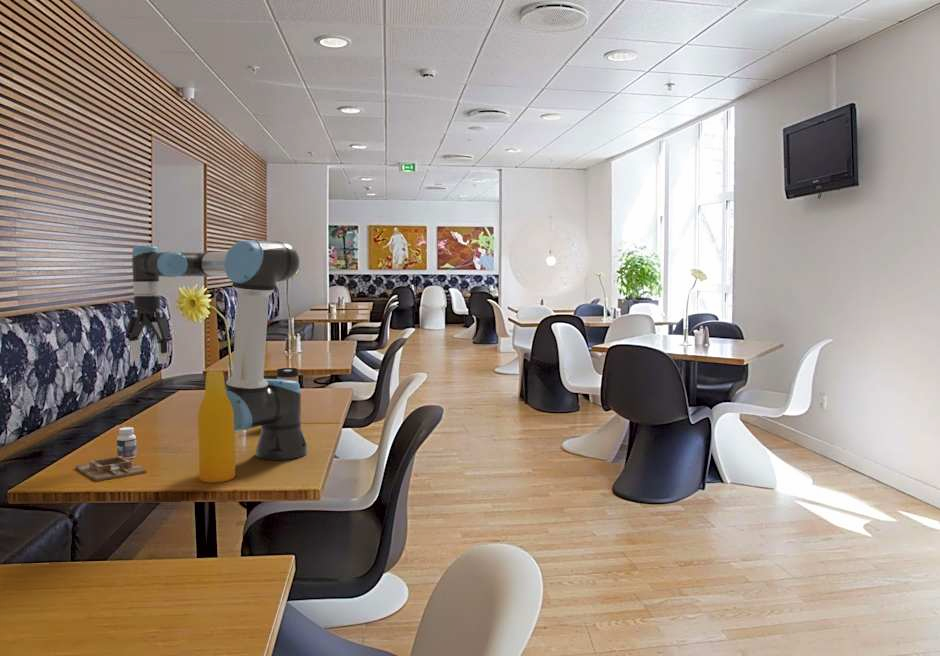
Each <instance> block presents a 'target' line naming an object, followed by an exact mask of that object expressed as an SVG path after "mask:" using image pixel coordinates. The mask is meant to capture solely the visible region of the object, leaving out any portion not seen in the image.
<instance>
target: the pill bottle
mask: <svg viewBox="0 0 940 656" xmlns="http://www.w3.org/2000/svg"><path fill="white" fill-rule="evenodd" d="M134 431H135V430H134V427H131V426H128V427H127V426H125V427H121V428H118V434H119V435H118V436H117V437H116V449H117V450H116V451H117V452H116V453H117V454H116V457H118V456H122V457H124V458H126V459H128V460H131V458H132V459H135V458H136V457H137V437H136V434H134Z"/></svg>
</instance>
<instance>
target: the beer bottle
mask: <svg viewBox="0 0 940 656" xmlns="http://www.w3.org/2000/svg"><path fill="white" fill-rule="evenodd" d="M197 411H198V413H197V421H198V423H197V425H198V428H197V429H198V430H197V431H198V460H199V461H198V465H199V466H198V467H199V469H198V475H199V479H200V481H201V482H204V483H211V484H212V483H213V484H215V483H216V484H217V483H223V482H228V481H231V480H233V479H234V478H235V475H236V461H235V460H236V459H235V457H236V456H235V431H234V412H233V407H232V405H231V402H230V401H229V399H228V397H227V394H226V383H225V375H224V371H222V370H221V371H220V370H217V371H216V370H214V371H213V370H212V371H206V376H205V390H204V396H203V398H202V400H201V402H200V405H199V408H198V410H197Z"/></svg>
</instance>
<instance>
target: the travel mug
mask: <svg viewBox="0 0 940 656" xmlns="http://www.w3.org/2000/svg"><path fill="white" fill-rule="evenodd" d="M276 379H282V380H293V381H297V382H298V383H299V369H298V368H297V367H282V368H277V369H276Z"/></svg>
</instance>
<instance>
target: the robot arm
mask: <svg viewBox="0 0 940 656" xmlns="http://www.w3.org/2000/svg"><path fill="white" fill-rule="evenodd" d="M131 261H132V279H133V282H132V284H133V285H132V287H133V288H132V289H133V290H132V291H133V292H132V293H133V295H135V296H134V297H133V307H134V308H135V309H131V310H130V316H129V321H128V324H127V327H126V331H125V335H124V337H125V339H128V340H129V348H130V362H136V361H138V362H139V361H141V349H140V348H141V346H140V344H141V343H140V338H139V337H140V335H141V334H142V332H143V330H144V328H145V326H149V327H150V328H151V329H152V331H153V334H154V335H155V337H156V338H157V364H158V365H162V364H167V363H168V343H169V342H171V341H172V340H173V337H172V334H171V331H170V328H169V326H168V323H167V320H166V315H165V311H164V310H158V309H159V308H160V307H161V301H160V296H159V294H160V277H167V278H176V277H216V276H217V277H220V276H221V277H223V276H227V278H228V279H229V281H231V282H232V288H233V290H234V291H236V293H237V295H236V296H237V297H236V299H237V301H236V315H235V329H234V343H233V345H234V346H233V361H232V362H233V363H232V376H231V377H230V378H229V379H228V380H226V383H225V389H226V394H227V397H228V399H229V401H230V402H231V405H232V407H233V412H234V432H235V431H242V430H243V431H247V430H249V429H254V428H256V427H257V428H258V427H261V431H260V434H259V438H258V441H257V444H256V449H255V456H256V457H257V458H258V459H261V460H269V461H285V460H292V459H297V458H301V457H303V456H306V455H307V454H308V446H307V445H308V444H307V442H306V440H305V437H304V434H303V430H302V426H301V425H302V419H301V417H302V416H301V415H302V414H301V413H302V412H301V411H302V410H301V409H302V407H301V404H302V403H301V402H302V401H301V398H302V397H301V395H302V393H301V386H300V383H299V381H298V382H297V381H293V380H282V379H277V378H265V377H264V374H265V359H266V348H267V347H266V345H267V344H266V343H267V342H266V341H267V329H268V314H269V302H270V301H269V299H270V295H271V294H273V293H274V292H275V290H276V282H279V283H280V282H285V281H287V280H290V279H291V278H293V277H294V276H295V275H296V273H297V272H298V271H299V267H300V256H299V253H298V252H297V250H295V248H294V247H293V246H292V245H290V244H289V243H287V242H283V241H276V240H275V241H271V240H269V241H268V240H255V239H252V240H251V239H248V240H239V241H237V242H235V243H234V244H233V245H232V246H231V247H229V249H228V250H227V251H218V252H217V251H214V252H182V251H181V252H180V251H178V252H177V251H163V252H162V251H161V252H159V249H158V246H153V245H143V246H142V245H141V246H140V245H135V246H134V247H133V248H132V258H131Z"/></svg>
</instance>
